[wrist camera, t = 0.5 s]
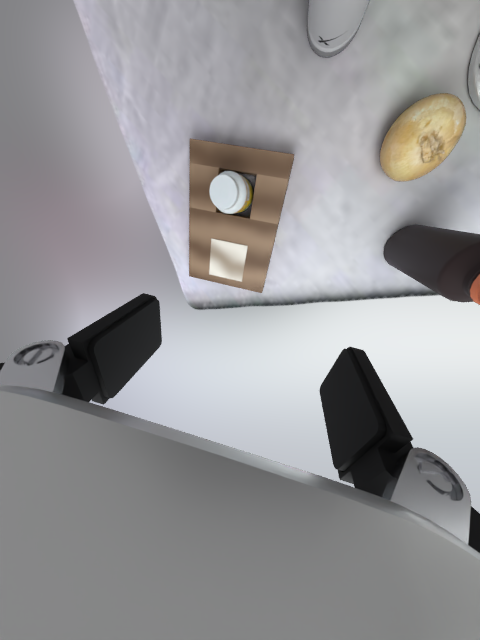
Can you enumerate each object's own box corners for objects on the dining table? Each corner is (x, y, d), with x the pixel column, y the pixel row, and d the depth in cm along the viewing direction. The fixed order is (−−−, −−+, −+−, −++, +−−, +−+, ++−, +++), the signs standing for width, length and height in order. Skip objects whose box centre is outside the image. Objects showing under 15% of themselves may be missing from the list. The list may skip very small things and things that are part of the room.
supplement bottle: (253, 174, 32) (240, 164, 24) (254, 210, 34) (244, 212, 26) (222, 178, 33) (201, 170, 25) (226, 213, 36) (208, 216, 28)
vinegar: (433, 217, 30) (618, 234, 13) (430, 259, 32) (578, 318, 16) (381, 233, 32) (481, 264, 15) (383, 271, 35) (468, 332, 18)
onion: (362, 150, 28) (382, 135, 22) (426, 87, 24) (472, 48, 18) (390, 195, 29) (415, 193, 24) (454, 144, 25) (504, 126, 20)
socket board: (197, 143, 31) (189, 138, 29) (293, 158, 30) (294, 154, 27) (195, 271, 43) (188, 276, 41) (263, 287, 42) (261, 293, 39)
